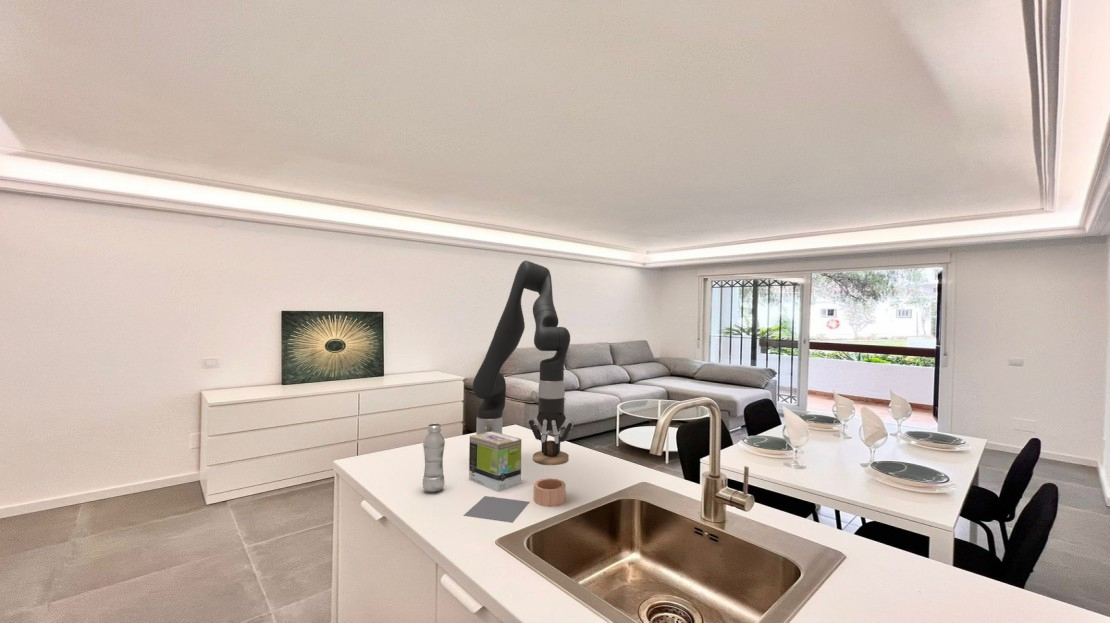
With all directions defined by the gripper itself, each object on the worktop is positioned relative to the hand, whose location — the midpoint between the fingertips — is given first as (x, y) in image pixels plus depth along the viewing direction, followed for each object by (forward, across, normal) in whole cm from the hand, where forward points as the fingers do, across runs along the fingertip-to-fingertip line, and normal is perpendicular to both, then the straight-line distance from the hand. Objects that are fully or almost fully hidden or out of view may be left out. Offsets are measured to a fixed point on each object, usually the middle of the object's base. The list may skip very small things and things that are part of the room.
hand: (550, 454), depth 136 cm
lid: (+1, 0, 0) cm, 1 cm away
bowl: (+13, 0, 0) cm, 13 cm away
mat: (+13, -12, -10) cm, 21 cm away
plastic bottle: (+13, -36, -3) cm, 39 cm away
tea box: (+14, -21, +9) cm, 27 cm away
